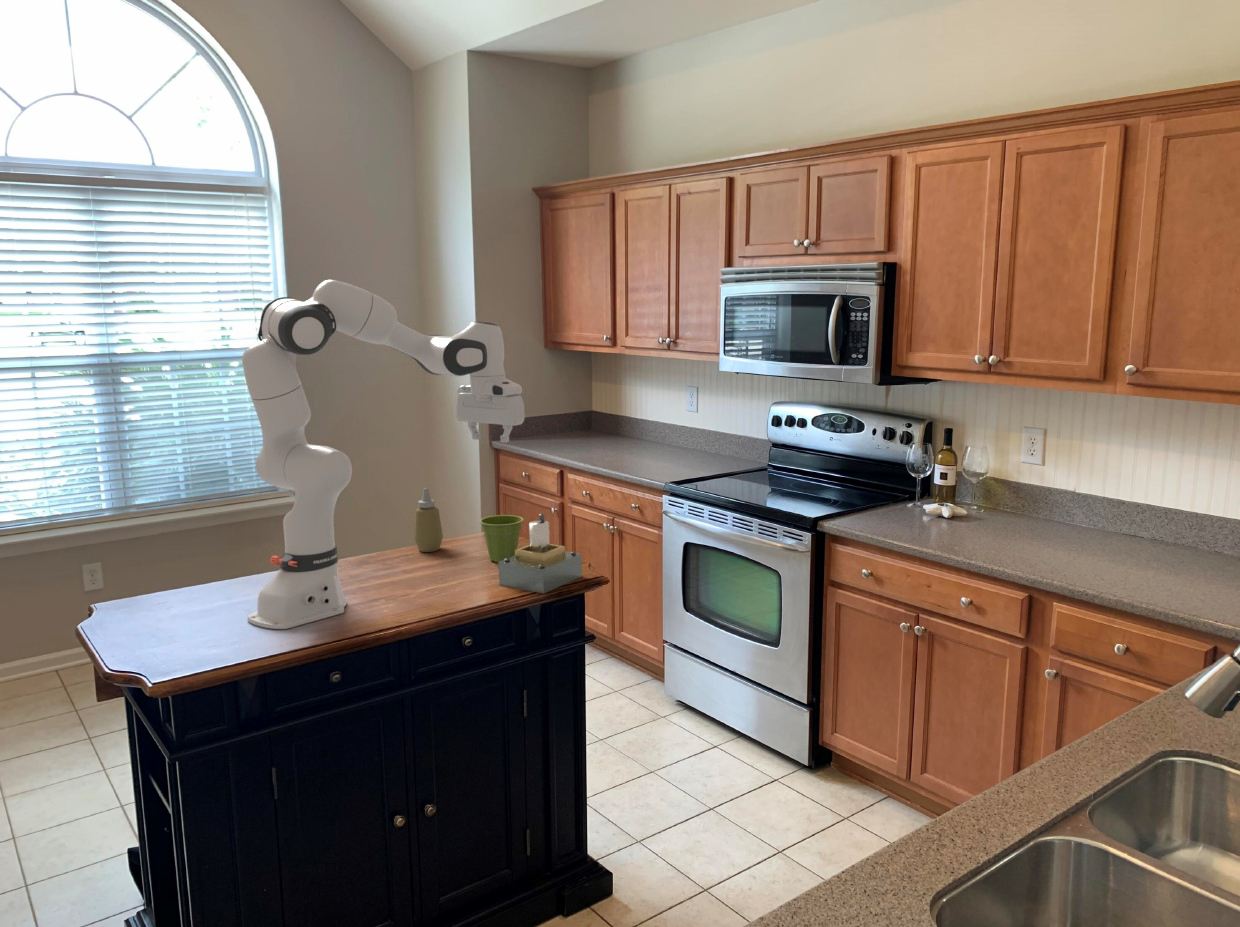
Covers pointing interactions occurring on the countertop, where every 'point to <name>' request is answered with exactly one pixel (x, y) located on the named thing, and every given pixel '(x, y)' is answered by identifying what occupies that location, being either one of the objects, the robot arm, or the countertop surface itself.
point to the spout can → (539, 535)
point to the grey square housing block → (540, 569)
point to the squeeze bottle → (427, 524)
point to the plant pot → (501, 535)
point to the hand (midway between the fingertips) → (490, 440)
